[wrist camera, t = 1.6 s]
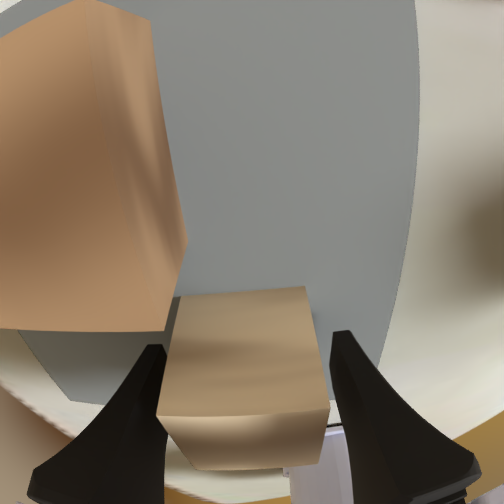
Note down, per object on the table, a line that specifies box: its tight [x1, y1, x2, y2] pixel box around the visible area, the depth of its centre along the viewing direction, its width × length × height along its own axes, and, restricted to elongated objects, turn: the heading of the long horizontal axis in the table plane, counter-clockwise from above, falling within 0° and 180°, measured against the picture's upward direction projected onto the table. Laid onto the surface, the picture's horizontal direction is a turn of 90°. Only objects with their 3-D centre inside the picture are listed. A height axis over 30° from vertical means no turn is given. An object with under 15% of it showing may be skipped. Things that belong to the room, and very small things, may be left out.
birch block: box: [156, 286, 330, 470], centre depth 11 cm, size 4×4×5 cm
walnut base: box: [0, 0, 188, 332], centre depth 7 cm, size 7×7×4 cm
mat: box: [0, 0, 420, 405], centre depth 11 cm, size 20×18×1 cm
